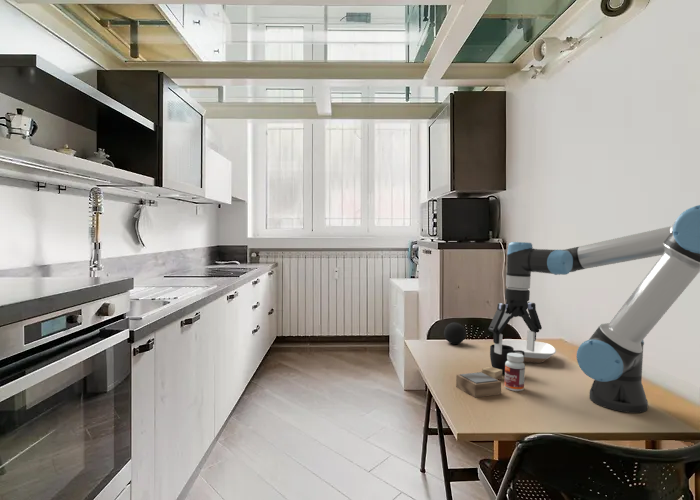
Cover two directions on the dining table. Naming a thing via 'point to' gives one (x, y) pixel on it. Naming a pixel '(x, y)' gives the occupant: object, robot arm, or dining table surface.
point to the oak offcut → (493, 372)
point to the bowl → (539, 354)
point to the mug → (501, 357)
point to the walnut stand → (478, 384)
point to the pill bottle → (514, 372)
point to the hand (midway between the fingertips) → (514, 351)
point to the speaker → (454, 333)
